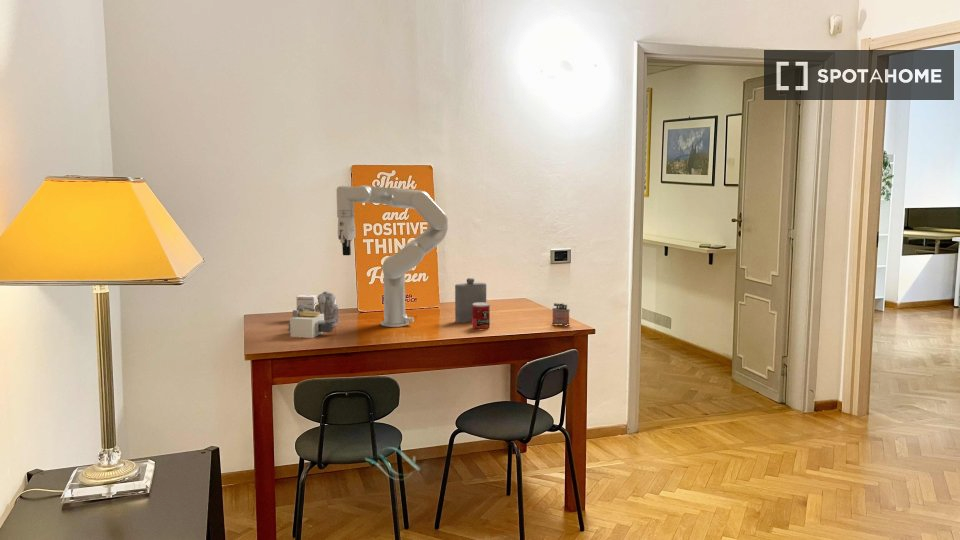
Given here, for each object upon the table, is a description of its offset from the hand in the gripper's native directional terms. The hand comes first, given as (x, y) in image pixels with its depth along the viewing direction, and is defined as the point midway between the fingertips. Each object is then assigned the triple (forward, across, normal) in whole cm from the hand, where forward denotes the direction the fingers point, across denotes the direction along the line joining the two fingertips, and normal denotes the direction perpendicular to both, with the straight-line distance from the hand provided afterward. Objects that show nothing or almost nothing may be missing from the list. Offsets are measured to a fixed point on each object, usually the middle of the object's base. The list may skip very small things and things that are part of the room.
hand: (346, 255), depth 334 cm
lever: (+24, -21, +10) cm, 33 cm away
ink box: (+32, +6, +23) cm, 40 cm away
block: (+32, -21, +10) cm, 40 cm away
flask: (+32, +21, -52) cm, 65 cm away
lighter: (+32, +21, -94) cm, 102 cm away
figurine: (+32, -3, +9) cm, 34 cm away
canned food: (+32, +7, -60) cm, 69 cm away
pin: (+31, -21, +9) cm, 39 cm away
